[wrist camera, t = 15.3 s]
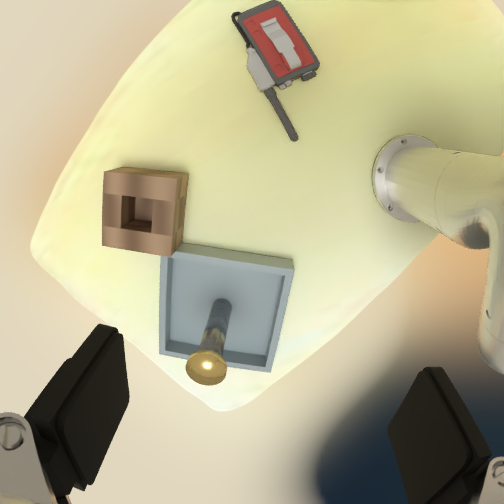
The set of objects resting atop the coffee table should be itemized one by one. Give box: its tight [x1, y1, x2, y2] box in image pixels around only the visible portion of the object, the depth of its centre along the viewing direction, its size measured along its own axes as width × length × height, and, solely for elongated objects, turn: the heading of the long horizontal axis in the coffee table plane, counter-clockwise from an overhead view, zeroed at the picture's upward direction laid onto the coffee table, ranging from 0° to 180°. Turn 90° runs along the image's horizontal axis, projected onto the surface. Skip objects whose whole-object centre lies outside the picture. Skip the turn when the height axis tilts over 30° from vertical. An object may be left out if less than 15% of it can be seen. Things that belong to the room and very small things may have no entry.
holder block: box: [102, 167, 189, 257], centre depth 41 cm, size 10×10×6 cm
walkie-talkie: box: [231, 0, 320, 141], centre depth 36 cm, size 9×4×20 cm
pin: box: [186, 298, 232, 385], centre depth 41 cm, size 5×5×15 cm
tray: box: [159, 243, 294, 373], centre depth 47 cm, size 18×18×4 cm
